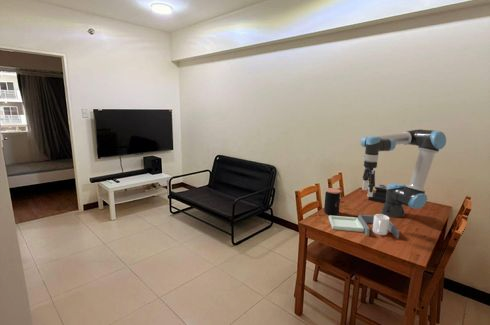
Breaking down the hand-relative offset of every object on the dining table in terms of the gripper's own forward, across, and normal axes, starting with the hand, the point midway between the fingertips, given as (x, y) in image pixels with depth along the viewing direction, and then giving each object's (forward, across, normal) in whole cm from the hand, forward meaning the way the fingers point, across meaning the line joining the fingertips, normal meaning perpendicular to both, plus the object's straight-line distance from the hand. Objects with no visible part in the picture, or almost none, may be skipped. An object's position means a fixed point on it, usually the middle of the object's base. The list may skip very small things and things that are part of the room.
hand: (367, 193), depth 169 cm
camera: (+24, -62, +28) cm, 72 cm away
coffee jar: (+24, -21, -18) cm, 37 cm away
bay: (+24, +1, +8) cm, 25 cm away
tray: (+24, -2, -11) cm, 26 cm away
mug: (+24, +6, +8) cm, 26 cm away
